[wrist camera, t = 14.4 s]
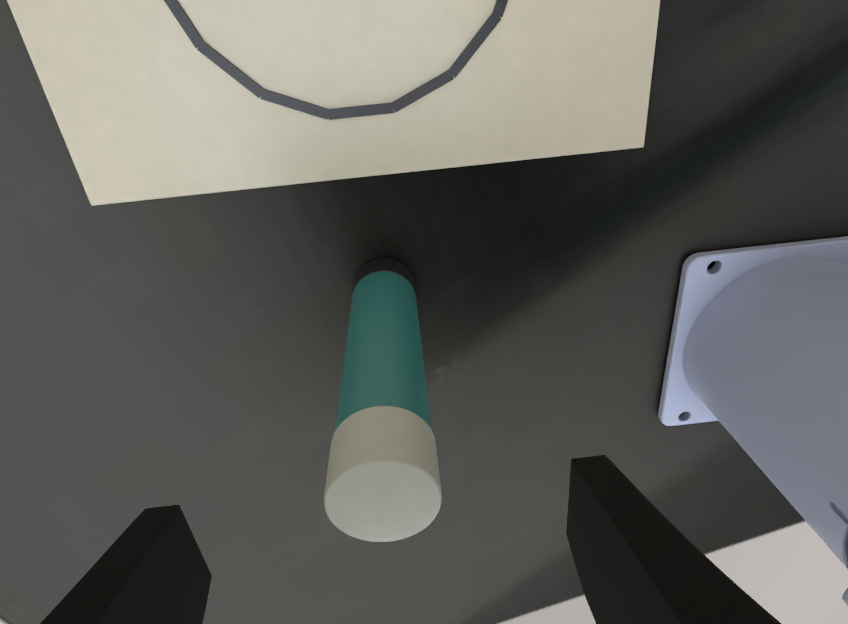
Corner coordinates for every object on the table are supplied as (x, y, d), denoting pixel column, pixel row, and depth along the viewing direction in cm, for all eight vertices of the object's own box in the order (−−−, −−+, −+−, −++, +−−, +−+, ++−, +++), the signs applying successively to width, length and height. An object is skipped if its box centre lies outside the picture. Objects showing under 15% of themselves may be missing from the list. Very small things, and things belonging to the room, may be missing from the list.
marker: (412, 252, 18) (438, 453, 9) (418, 308, 19) (445, 535, 10) (348, 259, 18) (313, 467, 9) (357, 315, 19) (334, 548, 10)
